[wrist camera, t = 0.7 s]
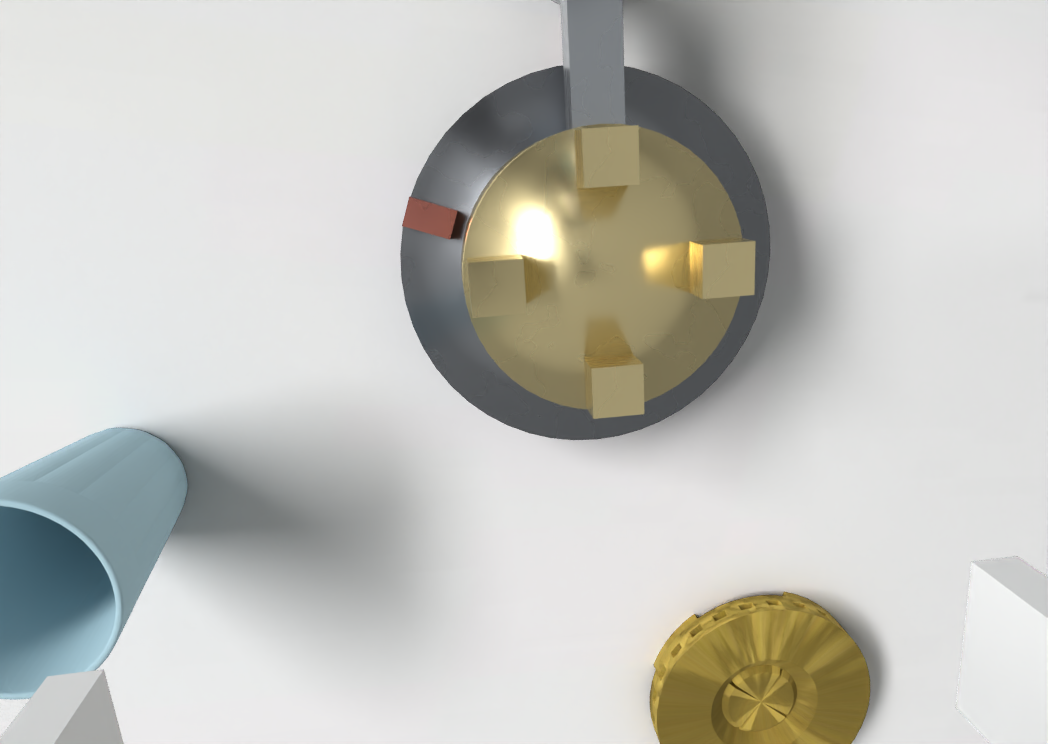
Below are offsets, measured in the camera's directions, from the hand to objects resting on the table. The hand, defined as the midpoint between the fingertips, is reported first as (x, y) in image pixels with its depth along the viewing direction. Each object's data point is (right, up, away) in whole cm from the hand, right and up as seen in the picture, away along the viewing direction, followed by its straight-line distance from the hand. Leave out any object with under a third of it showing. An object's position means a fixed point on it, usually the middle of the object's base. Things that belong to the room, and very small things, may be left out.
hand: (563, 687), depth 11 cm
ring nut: (+2, +14, +21) cm, 25 cm away
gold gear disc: (+12, -13, +31) cm, 36 cm away
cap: (+2, +10, +23) cm, 25 cm away
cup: (-19, 0, +24) cm, 31 cm away
